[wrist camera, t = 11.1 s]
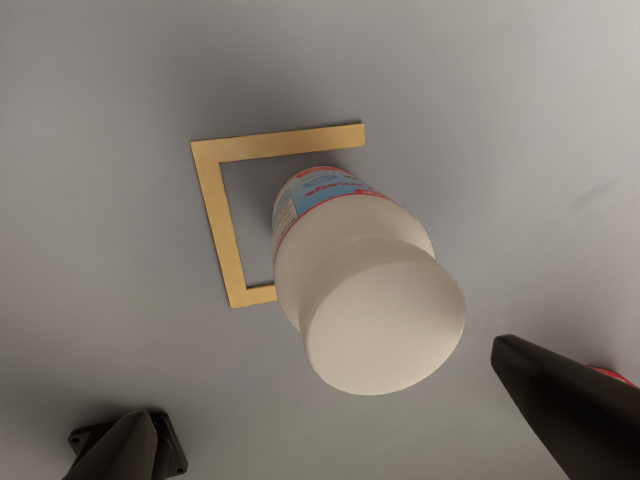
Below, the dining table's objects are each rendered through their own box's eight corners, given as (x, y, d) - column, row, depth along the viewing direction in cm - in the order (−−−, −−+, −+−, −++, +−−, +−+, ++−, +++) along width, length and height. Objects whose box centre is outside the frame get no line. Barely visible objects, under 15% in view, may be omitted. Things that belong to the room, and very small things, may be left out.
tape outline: (368, 283, 21) (369, 284, 21) (231, 306, 20) (231, 308, 20) (363, 123, 17) (364, 123, 17) (190, 141, 16) (189, 142, 16)
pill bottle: (382, 182, 18) (533, 261, 8) (347, 269, 20) (433, 423, 10) (287, 149, 17) (325, 196, 6) (258, 247, 19) (251, 405, 8)
